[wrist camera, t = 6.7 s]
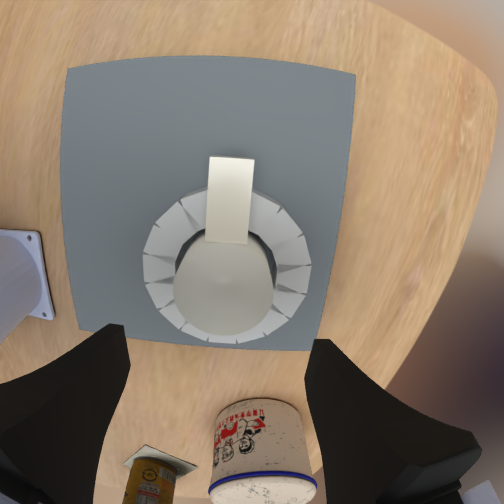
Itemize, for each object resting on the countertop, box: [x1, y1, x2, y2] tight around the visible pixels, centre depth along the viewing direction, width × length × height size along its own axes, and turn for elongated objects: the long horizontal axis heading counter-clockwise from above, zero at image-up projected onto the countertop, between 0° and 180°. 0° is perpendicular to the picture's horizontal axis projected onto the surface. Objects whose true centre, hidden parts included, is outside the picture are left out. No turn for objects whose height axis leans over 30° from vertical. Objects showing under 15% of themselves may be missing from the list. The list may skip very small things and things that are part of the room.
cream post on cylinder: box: [173, 155, 274, 336], centre depth 16 cm, size 9×5×5 cm, turn 175°
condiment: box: [122, 445, 198, 504], centre depth 25 cm, size 7×8×12 cm
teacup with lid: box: [208, 399, 317, 504], centre depth 22 cm, size 12×9×12 cm
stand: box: [60, 56, 356, 351], centre depth 18 cm, size 19×20×3 cm
